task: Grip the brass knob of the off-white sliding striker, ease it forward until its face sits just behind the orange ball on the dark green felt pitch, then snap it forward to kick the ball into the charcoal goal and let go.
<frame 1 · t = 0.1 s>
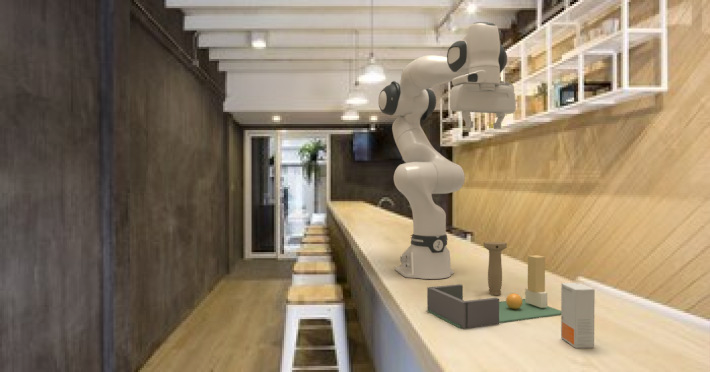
hand: (483, 128, 144), 48 cm above the table, fingers open, 8 cm apart
striker: (536, 280, 132), point 7 cm above the table, slide at 0.0 cm
skincare box: (577, 344, 105), on the table
goal: (463, 316, 124), resting on pitch
handle: (494, 295, 147), on the table
ball: (514, 301, 129), point 2 cm above the table, touching pitch
pitch: (496, 312, 128), on the table
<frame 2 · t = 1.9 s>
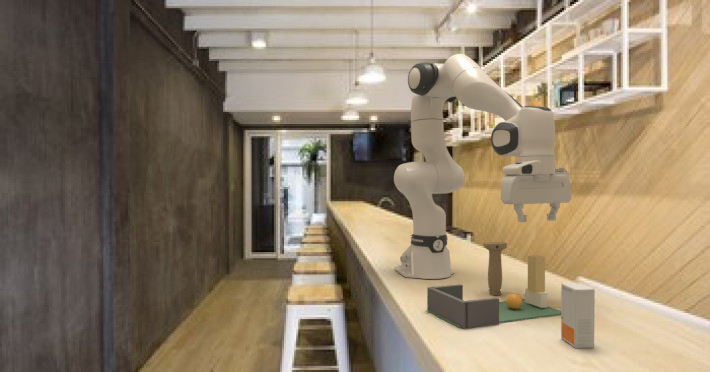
hand: (536, 221, 131), 23 cm above the table, fingers open, 8 cm apart
nothing on the table moved.
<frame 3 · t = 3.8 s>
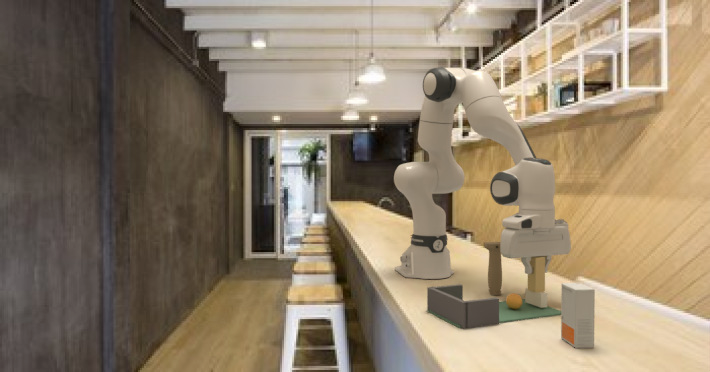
hand: (536, 273, 132), 9 cm above the table, fingers closed on striker, 3 cm apart
striker: (536, 280, 132), point 7 cm above the table, slide at 0.0 cm, touching gripper
everything else where it was.
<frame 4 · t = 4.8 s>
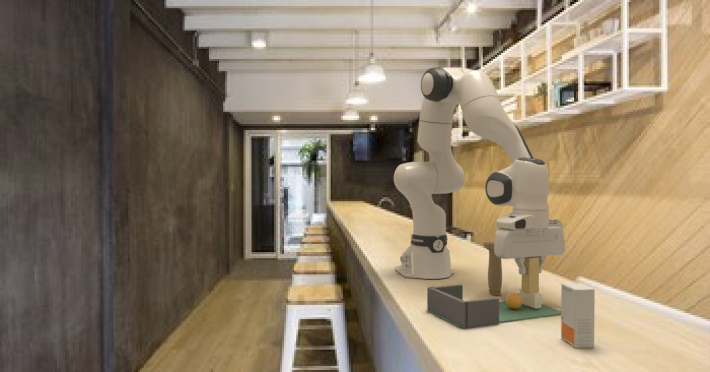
hand: (530, 273, 131), 9 cm above the table, fingers closed on striker, 3 cm apart
striker: (530, 281, 131), point 7 cm above the table, slide at 1.9 cm, touching gripper
everything else where it was.
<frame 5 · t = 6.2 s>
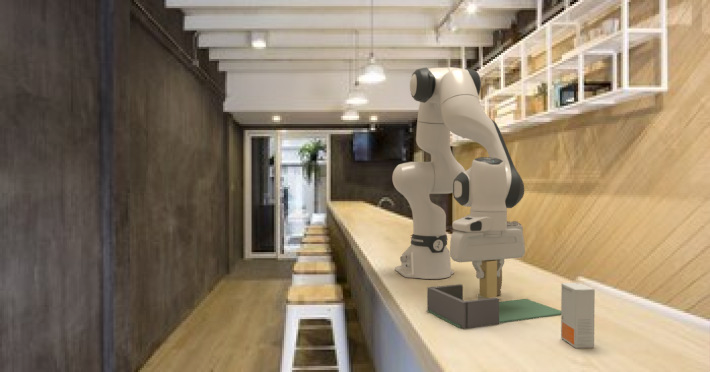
hand: (488, 277, 126), 9 cm above the table, fingers closed on striker, 3 cm apart
striker: (488, 285, 126), point 7 cm above the table, slide at 15.0 cm, touching gripper
ball: (456, 307, 123), point 2 cm above the table, tilted 125°, touching pitch
everything else where it was.
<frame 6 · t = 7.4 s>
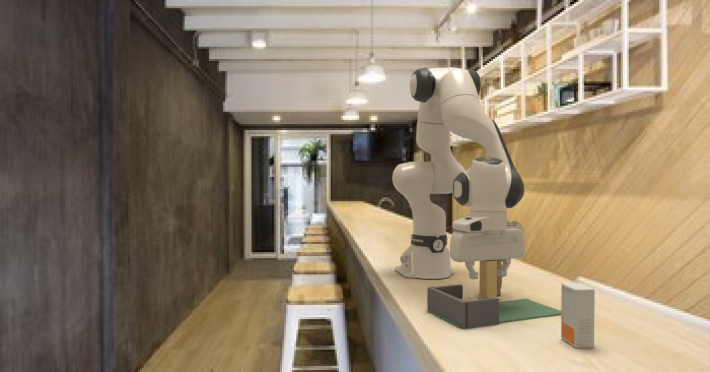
hand: (488, 277, 126), 9 cm above the table, fingers open, 7 cm apart
striker: (488, 285, 126), point 7 cm above the table, slide at 15.0 cm
ball: (464, 307, 124), point 2 cm above the table, tilted 58°, touching pitch
everything else where it was.
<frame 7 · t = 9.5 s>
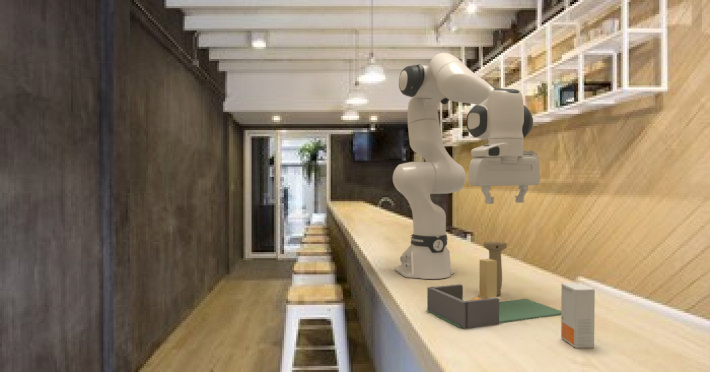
hand: (504, 203, 133), 27 cm above the table, fingers open, 8 cm apart
ball: (477, 305, 125), point 2 cm above the table, tilted 50°, touching pitch
everything else where it was.
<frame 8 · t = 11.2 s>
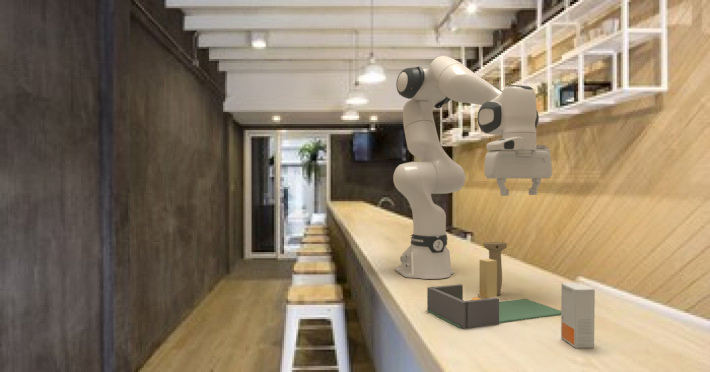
hand: (518, 195, 138), 29 cm above the table, fingers open, 8 cm apart
nothing on the table moved.
at the end: ball inside the target area (4.1 cm from its centre), point 2.4 cm above the table; striker slide at 15.0 cm; the gripper is holding nothing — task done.
